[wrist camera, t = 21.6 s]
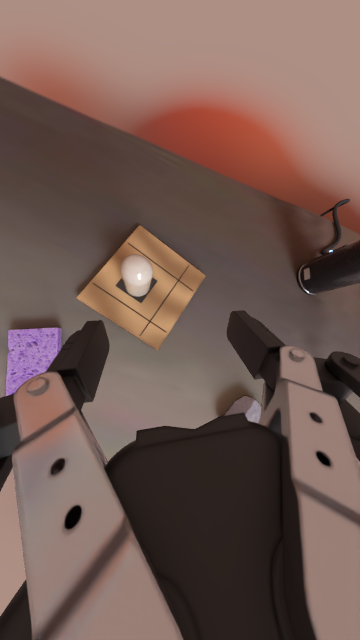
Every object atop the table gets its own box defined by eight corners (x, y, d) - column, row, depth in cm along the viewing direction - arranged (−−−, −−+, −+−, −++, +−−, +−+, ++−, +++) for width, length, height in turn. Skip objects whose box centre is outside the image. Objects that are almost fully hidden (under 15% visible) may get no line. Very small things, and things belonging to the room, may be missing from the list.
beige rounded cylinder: (134, 266, 32) (132, 240, 24) (155, 282, 33) (161, 261, 24) (118, 286, 31) (110, 265, 22) (140, 301, 32) (141, 287, 23)
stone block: (240, 388, 39) (215, 422, 34) (256, 393, 34) (231, 431, 30) (264, 426, 40) (243, 463, 35) (283, 434, 35) (262, 478, 31)
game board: (139, 229, 35) (139, 224, 34) (203, 278, 38) (205, 275, 36) (79, 299, 30) (75, 297, 29) (156, 349, 33) (157, 350, 31)
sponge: (62, 328, 29) (57, 327, 27) (61, 398, 28) (56, 403, 26) (15, 330, 27) (7, 329, 25) (12, 406, 26) (3, 411, 24)
